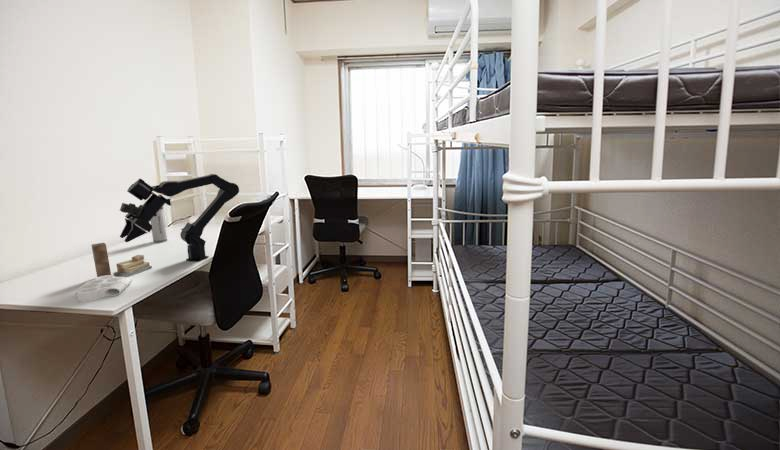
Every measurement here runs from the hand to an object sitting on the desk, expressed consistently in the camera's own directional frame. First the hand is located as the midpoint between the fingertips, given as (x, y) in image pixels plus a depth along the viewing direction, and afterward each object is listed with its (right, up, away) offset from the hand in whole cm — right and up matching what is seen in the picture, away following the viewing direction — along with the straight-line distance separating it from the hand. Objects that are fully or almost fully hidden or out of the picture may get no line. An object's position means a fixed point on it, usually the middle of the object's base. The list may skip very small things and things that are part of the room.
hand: (123, 239), depth 159 cm
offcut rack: (+1, -13, +4) cm, 13 cm away
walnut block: (-6, -14, -2) cm, 16 cm away
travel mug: (-15, -3, +52) cm, 54 cm away
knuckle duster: (+4, -18, -16) cm, 24 cm away
